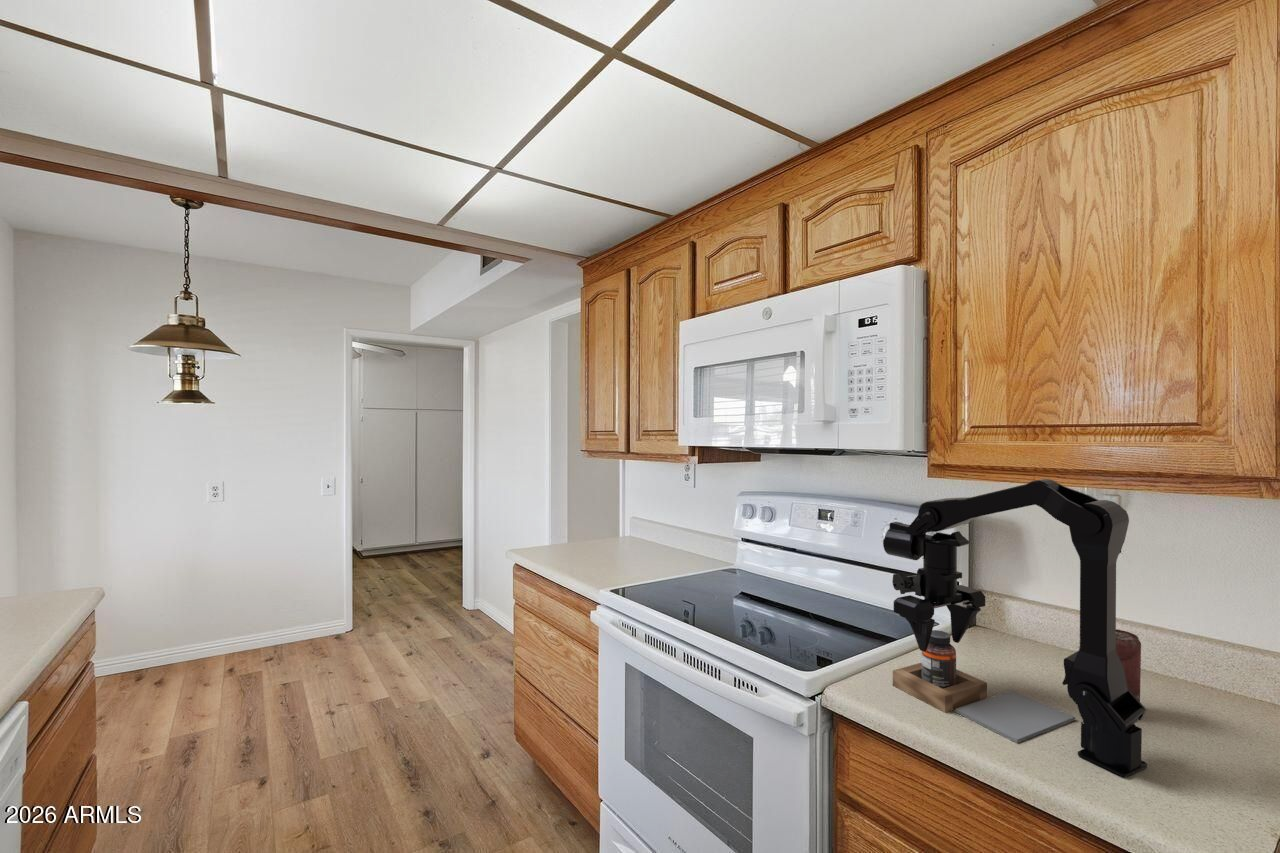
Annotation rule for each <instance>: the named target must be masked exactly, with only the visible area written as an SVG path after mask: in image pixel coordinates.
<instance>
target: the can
mask: <svg viewBox="0 0 1280 853" xmlns="http://www.w3.org/2000/svg"><path fill="white" fill-rule="evenodd" d="M1116 653H1117V655H1118V657H1119V659H1120V661H1121V664H1122V666H1123V668H1124V672H1125V677H1126V682H1127V688H1128V689H1129V691H1130V692H1131V693H1132V694H1133V695H1134V696H1135V697H1136V698H1137V699H1138V700H1139V702H1140V703H1141V678H1142V677H1141V674H1142V673H1141V672H1142V670H1141V668H1142V667H1141V665H1142V663H1141V662H1142V642H1141V641H1140V639H1139V637H1138V635H1136V634H1134V633H1132V632H1129V631H1127V630H1121V629H1117V628H1116Z"/></svg>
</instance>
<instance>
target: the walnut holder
mask: <svg viewBox="0 0 1280 853" xmlns="http://www.w3.org/2000/svg"><path fill="white" fill-rule="evenodd" d="M892 686H893V687H894V688H896V689H898V690H901V691H902V692H905V693H907V694H908V695H910V696H912V697H914V698H916V699H918V700H920V701H922V702H924V703H926V704H928V705H930V706H931V707H933V708H935V709H938V710H939V711H941V712H943V713H948V712H950V711H955V709H957V708H960V707H963V706H966V705H968V704H971V703H974V702H977V701H980V700H983V699H986V698H988V682H986V681H984V680H982V679H980V678H978V677H975V676H973V675H971V674H968V673H966V672H964V671H962V670H960V669H957V668H956V685H954V686H950V687H947V688H944V689H942V688H940V687H938V686H936V685H934V684H932V683H929V682H927V681H925V680H923V679H922V662H919V663H915V664H911V665H908V666H905V667H901V668H898V669H893V670H892Z"/></svg>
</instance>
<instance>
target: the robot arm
mask: <svg viewBox="0 0 1280 853" xmlns="http://www.w3.org/2000/svg"><path fill="white" fill-rule="evenodd" d="M1029 506H1038V507H1039V508H1042V509H1043V510H1044V511H1045V512H1046V513H1048V514H1049V516H1051V517H1052V518H1054V519H1055V520H1056V521H1059V522H1060V523H1062V524H1063V525H1065V526H1068V528H1069V533H1070V538H1071V542H1072V544H1073V547H1074V549H1075V551H1076V553H1077V556H1078V558H1079V648H1078V650H1077V651H1075V652H1074V653H1072V654H1070V655H1068V656H1067V657H1064V658H1063V669H1064V679H1063V681H1062V685H1064V686H1066V690H1067V694H1068V697H1069V699H1071V700H1072V701H1073V702H1074V703H1075V704H1076V705H1077V708H1078V711H1079V714H1080V716H1081V719H1082V722H1080V747H1081V748H1082V749H1080V750H1078V751H1077V756H1079V757H1080V758H1081V759H1084V760H1087V761H1089V762H1091V763H1093V764H1095V765H1098V767H1101V768H1103V769H1105V770H1107V771H1109V772H1111V773H1113V774H1116V775H1118V776H1120V777H1122V778H1128V777H1129V776H1130V777H1131V775H1133V774H1136V773H1137V772H1139V771H1142V770H1143V769H1146V768H1147V767H1148V763H1147V762H1146V761H1144V760H1142V748H1143V747H1142V744H1143V743H1142V742H1143V741H1142V740H1143V739H1142V738H1143V737H1142V736H1143V734H1142V733H1143V729H1142V728H1141V727H1140V726H1137V725H1136V723H1138V722H1140V721H1141V720H1142V718H1143V717H1144V715H1145V714H1146V711H1147V708H1146V707H1145V706H1144V705H1143V704H1142V702H1141V701H1140V702H1139V700H1138V699H1137V698H1136V697H1135V696H1134V695H1133V694H1132V693H1131V692H1130V691H1129V689H1128V688H1127V682H1126V677H1125V672H1124V668H1123V666H1122V664H1121V661H1120V659H1119V657H1118V655H1117V653H1116V629H1117V628H1116V626H1117V622H1116V621H1117V616H1116V615H1117V561H1118V557H1119V555H1120V553H1121V550H1122V548H1123V545H1124V543H1125V541H1126V537H1127V531H1128V528H1129V523H1130V517H1129V514H1128V512H1127V510H1125V509H1124V508H1123V507H1122V506H1121V505H1120V504H1119V503H1117V502H1115V501H1113V500H1112V501H1111V500H1107V499H1097V498H1096V497H1093V496H1091V495H1089V494H1086V493H1084V492H1082V491H1078V490H1075V489H1073V488H1070V487H1067V486H1065V485H1063V484H1061V483H1058V482H1057V481H1055V480H1053V479H1050V478H1041V479H1037V480H1031V481H1029V482H1028V483H1026V484H1021V485H1017V486H1012V487H1010V488H1003V489H999V490H996V491H992V492H987V493H984V494H979V495H975V496H971V497H970V496H969V497H949V498H948V497H947V498H939V499H933V500H928V501H925V502H923V503H921V504H920V505H919V509H918V513H917V514H918V515H916V517H915V518H914V520H912V522H911V523H910V524H906V523H903V522H900V521H893V522H890V523H889V528H888V530H886V533H885V535H884V538H883V540H882V547H883V550H884V553H886V554H887V555H889V556H893V557H898V558H904V559H906V560H912V561H918V560H920V559H921V558H922V557H923V558H922V559H923V560H922V561H923V562H922V564H923V567H920V568H918V569H917V570H916V574H913V575H907V573H906V572H899V573H894V574H893V575H892V587H893V589H894V591H899V592H900V595H904V596H900V597H897V598H895V599H894V600H893V613H895V614H898V615H899V617H901V618H904V619H906V621H907V622H908V624H909V625H910V627H911V630H912V631H913V635H914V638H915V641H916V643H917V646H918V648H919V650H920V651H921V652H922V651H923V652H925V651H926V650H927V647H928V644H929V640H930V637H931V633H932V630H933V629H934V625H935V622H936V621H935V619H933V617H934V615H935V609H937V608H938V609H939V608H942V607H946V608H947V609H948V611H949V613H950V614H949V615H950V628H951V630H950V631H951V638H952V642H954V643H956V644H958V643H960V642H961V640H962V639H963V637H964V635H965V633H966V632H967V630H968V629H969V626H970V625H971V623H972V622H973V620H974V619H975V617H976V616H977V614H978V613H979V612H981V609H982V607H986V596H985V594H984V593H983V591H982V590H979V589H976V588H972V587H969V586H965V585H961V584H958V580H959V579H962V578H963V572H961V571H958V565H957V564H958V548H959V547H964V546H966V545H967V546H968V545H969V544H970V541H969V540H968V539H967V538H966V537H965V536H963V534H962V533H961V531H958V530H957V531H954V532H951V534H950V533H945V532H944V533H943V532H941V531H947V530H951V529H955V528H957V527H959V526H961V525H965V524H966V523H969V522H970V521H974V520H975V519H977V518H979V517H983V516H987V515H993V514H997V513H1000V512H1001V513H1002V512H1006V511H1012V510H1015V509H1020V508H1025V507H1029ZM931 532H933V533H934V534H933V535H930V534H927V533H931ZM935 532H936V533H935ZM906 593H907V594H909V593H915V594H914V595H915V596H914V595H910V594H909V595H905V594H906ZM917 596H918V597H917ZM920 597H923V598H924V599H923V598H920Z"/></svg>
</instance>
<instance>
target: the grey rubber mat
mask: <svg viewBox="0 0 1280 853" xmlns="http://www.w3.org/2000/svg"><path fill="white" fill-rule="evenodd" d="M954 711H955V713H956V714H959V715H960V716H962V717H964V718H966V719H968V720H970V721H972V722H974V723H976V724H978V725H980V726H982V727H984V728H986V729H987V730H989V731H992V732H994V733H996V734H997V735H1000V736H1002V737H1004V738H1005V739H1008V740H1010V741H1011V742H1013V743H1015V744H1019V743H1022V742H1024V741H1026V740H1029V739H1031V738H1034V737H1036V736H1039V735H1042V734H1044V733H1046V732H1049V731H1052V730H1055V729H1056V728H1059V727H1061V726H1064V725H1066V724H1069V723H1071V722H1074V721H1076V717H1075V716H1074V715H1072V714H1070V713H1067V712H1065V711H1062V710H1061V709H1058V708H1056V707H1053V706H1052V705H1051V706H1050V705H1048V704H1046V703H1044V702H1041V701H1039V700H1037V699H1035V698H1032V697H1030V696H1027V695H1025V694H1023V693H1020V692H1018V691H1016V690H1014V689H1011V690H1007V691H1005V692H1004V691H1003V692H1001V693H999V694H996V695H992V696H989V697H987V698H986V699H983V700H980V701H977V702H974V703H971V704H968V705H966V706H963V707H960V708H957V709H954Z"/></svg>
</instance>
